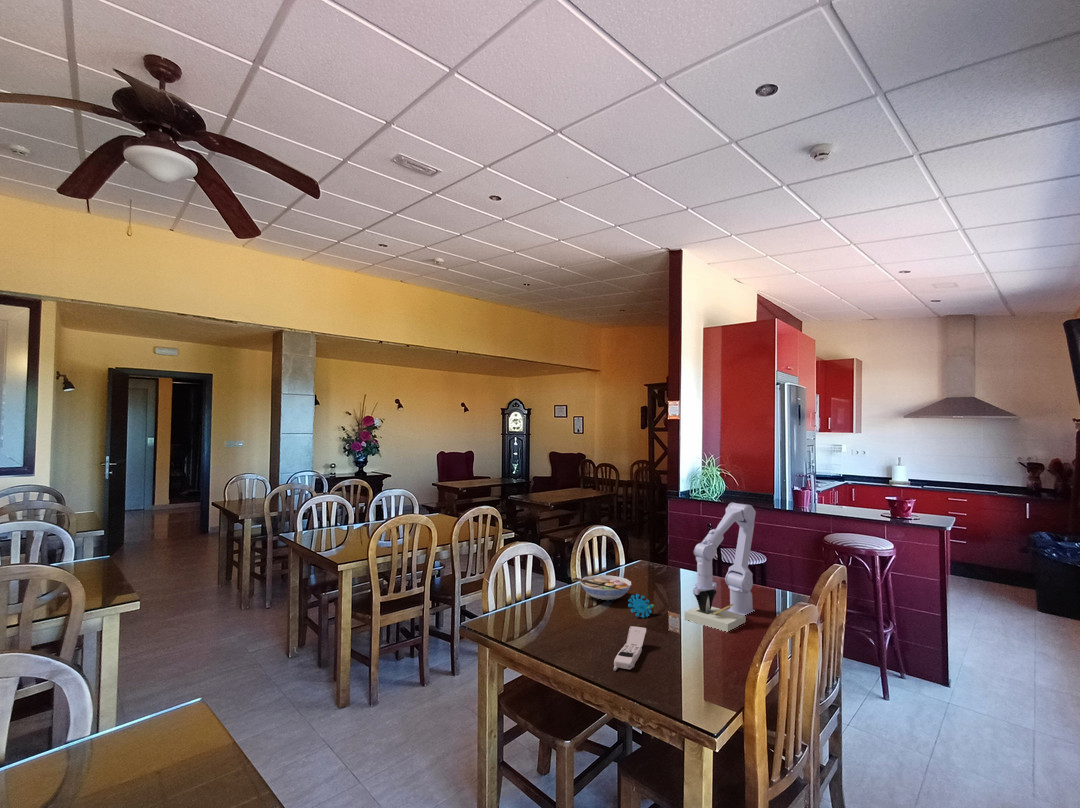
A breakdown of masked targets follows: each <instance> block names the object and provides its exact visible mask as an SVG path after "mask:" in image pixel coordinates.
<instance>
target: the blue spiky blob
mask: <svg viewBox="0 0 1080 808" xmlns="http://www.w3.org/2000/svg"><path fill="white" fill-rule="evenodd" d="M640 596H641V597H640ZM645 598H646V596H644V595H640V594H639V593H636V594H635V595H634V594H631V596H630V597H629V598H628V600H627V602H629V603H628V605H627V606H628V608H631V609H630V612H631V613H634V612H637V613H635V614H634V615H635V617H637V618H638V617H639V616H640V618H641V617H642V618H641V619H644V618H649V617H650V614H651V613H652V609H653V607H654V604H653V603H651V604H649V603H650V600H649V599H647V598H646V600H645ZM640 614H641V615H640ZM648 616H649V617H648Z"/></svg>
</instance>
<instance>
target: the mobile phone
mask: <svg viewBox="0 0 1080 808" xmlns="http://www.w3.org/2000/svg"><path fill="white" fill-rule="evenodd" d="M646 633H647V628H646V627H640V626H632V625H630V626H629V629H628V633H627V638H626V643H625V644H624V645H623V647H621V649H620V650H619V651H618V653H617V655H616V656H615V658H614V661H613V666H614V667H613V671H614V672H616V671H617V669H619V668H620V669H623V670H624V669H626V670H631V669H633V668H635V664H636V662H637V661H638V659H639V657H640V655H641V653H642V651H643V649H642V647H643V643H644V642H645V641H644V640H645V636H646Z"/></svg>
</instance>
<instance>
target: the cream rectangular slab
mask: <svg viewBox="0 0 1080 808" xmlns="http://www.w3.org/2000/svg"><path fill="white" fill-rule="evenodd" d="M721 609H722V608H719V607H715V606H711V609H710V614H705V613H701V612H700V609H699V605H698V606H696V607H693V608H690V609H688V610H685V611H684V620H685V619H686V620H685V621H687V620H689V621H688V622H691V621H692V622H691V623H694V622H695V623H694V624H697V623H698V625H700V626H704V625H705V626H704V627H707V626H708V628H711V627H712V628H711V629H714V628H716V629H715V630H717V629H719V630H718V631H721V630H722V631H721V632H724V631H726V632H725V633H727V632H728V631H730V630H732V629H734V628H736V627H738V626H739V625H741V624H743V623H745V622H747V621H746V620H747V619H746V618H747V615H746V616H745V615H741V614H738V613H734V612H730V611H726V610H727V609H725V610H723V611H721V612H719V613H717V614H715V615H714V614H713V613H715V612H717V611H719V610H721ZM738 628H739V627H738ZM736 629H737V628H736ZM734 630H735V629H734ZM732 631H733V630H732ZM730 632H731V631H730ZM728 633H729V632H728Z"/></svg>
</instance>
